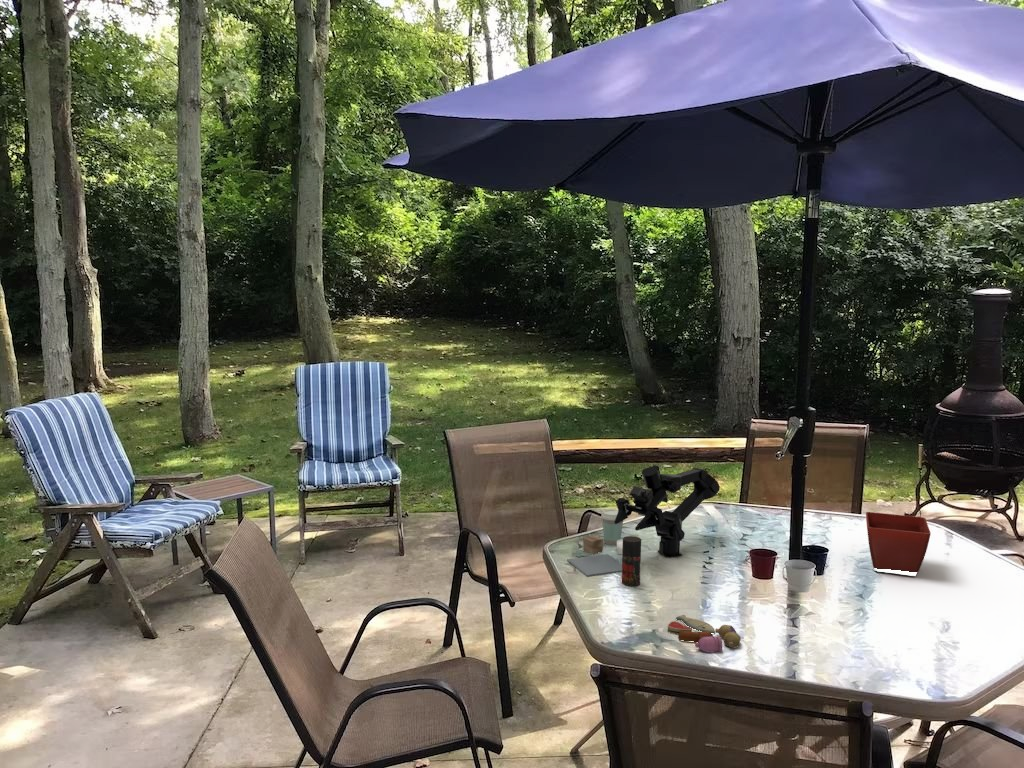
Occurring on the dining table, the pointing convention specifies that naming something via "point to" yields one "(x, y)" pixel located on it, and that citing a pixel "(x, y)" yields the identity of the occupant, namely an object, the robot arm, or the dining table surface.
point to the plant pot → (897, 541)
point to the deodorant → (631, 561)
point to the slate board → (596, 565)
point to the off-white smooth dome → (619, 546)
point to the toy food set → (704, 634)
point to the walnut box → (592, 544)
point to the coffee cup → (611, 527)
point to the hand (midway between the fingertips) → (625, 526)
